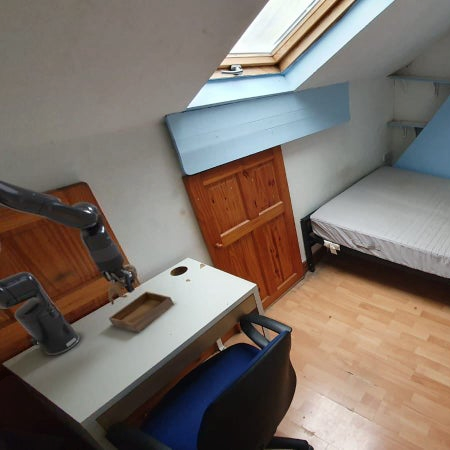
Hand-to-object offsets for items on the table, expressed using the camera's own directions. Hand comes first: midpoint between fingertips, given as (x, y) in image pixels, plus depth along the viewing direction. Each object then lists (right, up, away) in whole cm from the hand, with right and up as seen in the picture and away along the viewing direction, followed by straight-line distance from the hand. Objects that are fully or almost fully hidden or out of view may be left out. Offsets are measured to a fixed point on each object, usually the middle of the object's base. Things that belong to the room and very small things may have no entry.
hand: (126, 290), depth 119 cm
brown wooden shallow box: (-2, -13, +11) cm, 17 cm away
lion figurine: (0, -1, +1) cm, 1 cm away
